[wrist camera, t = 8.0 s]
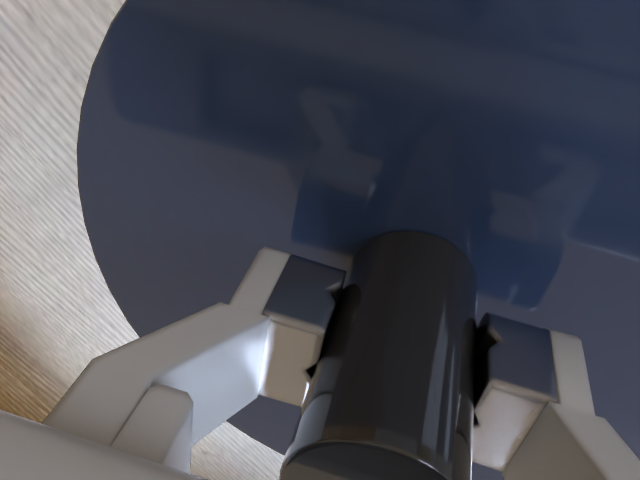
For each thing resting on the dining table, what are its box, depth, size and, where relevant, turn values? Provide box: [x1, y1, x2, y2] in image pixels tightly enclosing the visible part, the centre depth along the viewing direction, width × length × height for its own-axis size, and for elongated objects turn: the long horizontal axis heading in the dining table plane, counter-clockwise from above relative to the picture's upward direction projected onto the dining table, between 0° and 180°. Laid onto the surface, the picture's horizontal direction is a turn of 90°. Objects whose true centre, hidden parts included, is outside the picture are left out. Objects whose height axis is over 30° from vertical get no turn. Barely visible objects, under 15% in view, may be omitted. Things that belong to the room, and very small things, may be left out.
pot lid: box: [77, 0, 640, 480], centre depth 9 cm, size 14×14×6 cm
